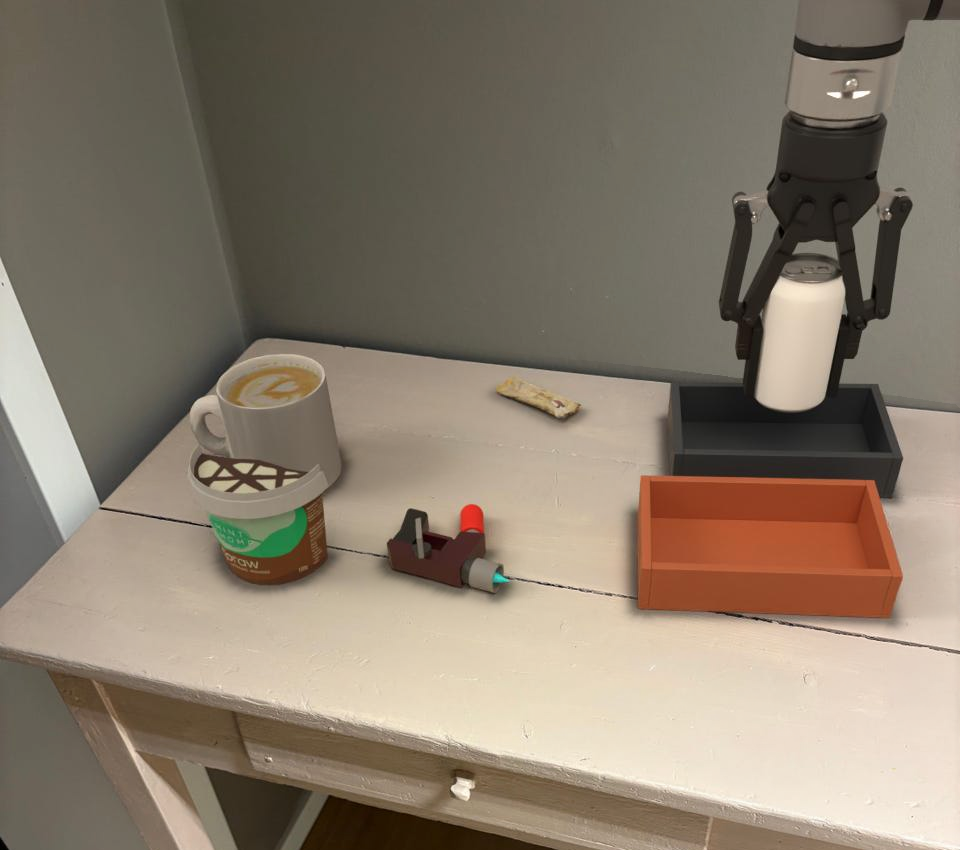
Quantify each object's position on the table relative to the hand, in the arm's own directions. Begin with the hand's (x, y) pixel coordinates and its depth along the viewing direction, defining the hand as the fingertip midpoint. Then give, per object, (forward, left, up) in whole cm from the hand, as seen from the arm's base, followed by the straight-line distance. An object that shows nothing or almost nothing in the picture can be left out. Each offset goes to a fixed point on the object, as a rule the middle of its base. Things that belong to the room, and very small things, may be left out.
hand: (788, 389), depth 90 cm
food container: (+45, +19, -7) cm, 50 cm away
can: (0, 0, -1) cm, 1 cm away
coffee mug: (+48, +4, -7) cm, 49 cm away
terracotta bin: (+3, +16, -7) cm, 18 cm away
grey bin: (0, 0, -7) cm, 7 cm away
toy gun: (+28, +16, -7) cm, 33 cm away
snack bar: (+23, -9, -7) cm, 26 cm away
